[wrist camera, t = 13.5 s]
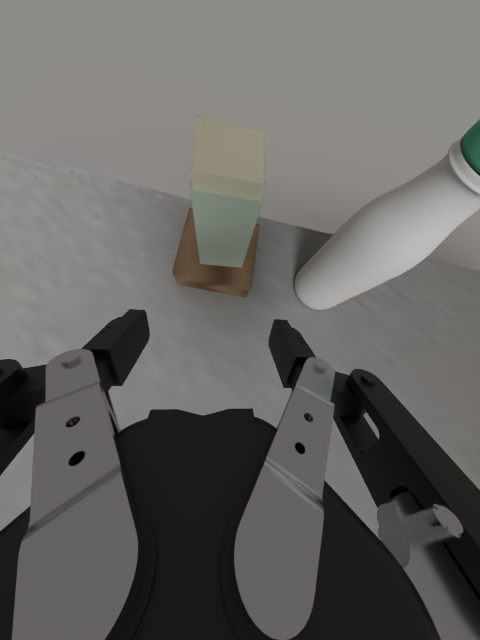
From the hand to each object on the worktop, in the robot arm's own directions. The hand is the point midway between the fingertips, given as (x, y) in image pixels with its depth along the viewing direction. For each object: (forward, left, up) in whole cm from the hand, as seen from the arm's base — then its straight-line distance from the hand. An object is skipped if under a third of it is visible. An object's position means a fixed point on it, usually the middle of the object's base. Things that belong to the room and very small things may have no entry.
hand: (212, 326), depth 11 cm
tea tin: (-2, +13, -9) cm, 16 cm away
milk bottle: (+14, +12, -13) cm, 23 cm away
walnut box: (-2, +13, -13) cm, 18 cm away
